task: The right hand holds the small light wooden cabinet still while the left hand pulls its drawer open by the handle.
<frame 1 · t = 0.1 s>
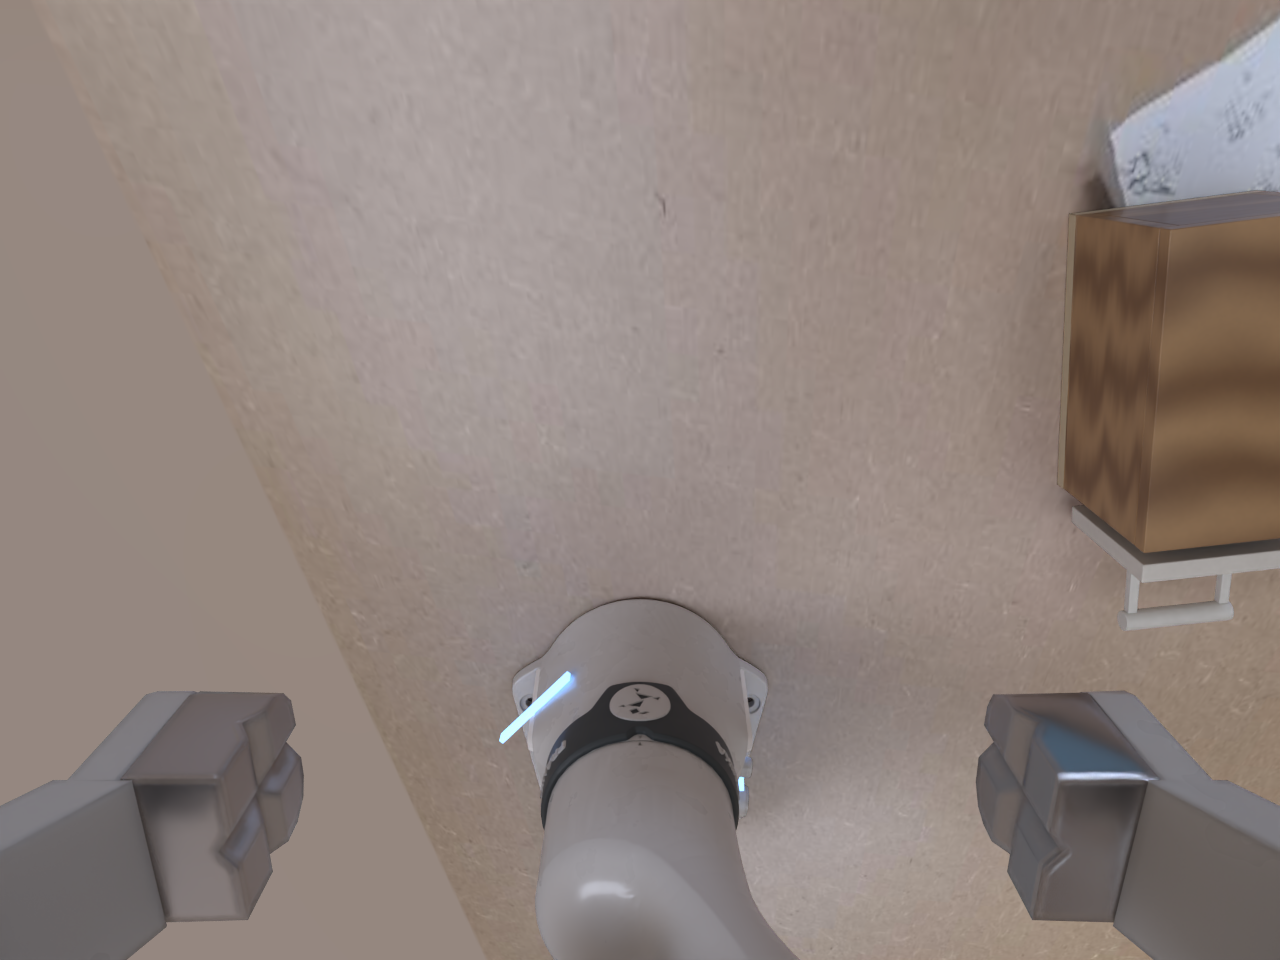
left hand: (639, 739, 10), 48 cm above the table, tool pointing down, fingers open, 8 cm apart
cabinet: (1150, 345, 57), on the table
drawer: (1192, 464, 54), point 6 cm above the table, slide at 1.3 cm
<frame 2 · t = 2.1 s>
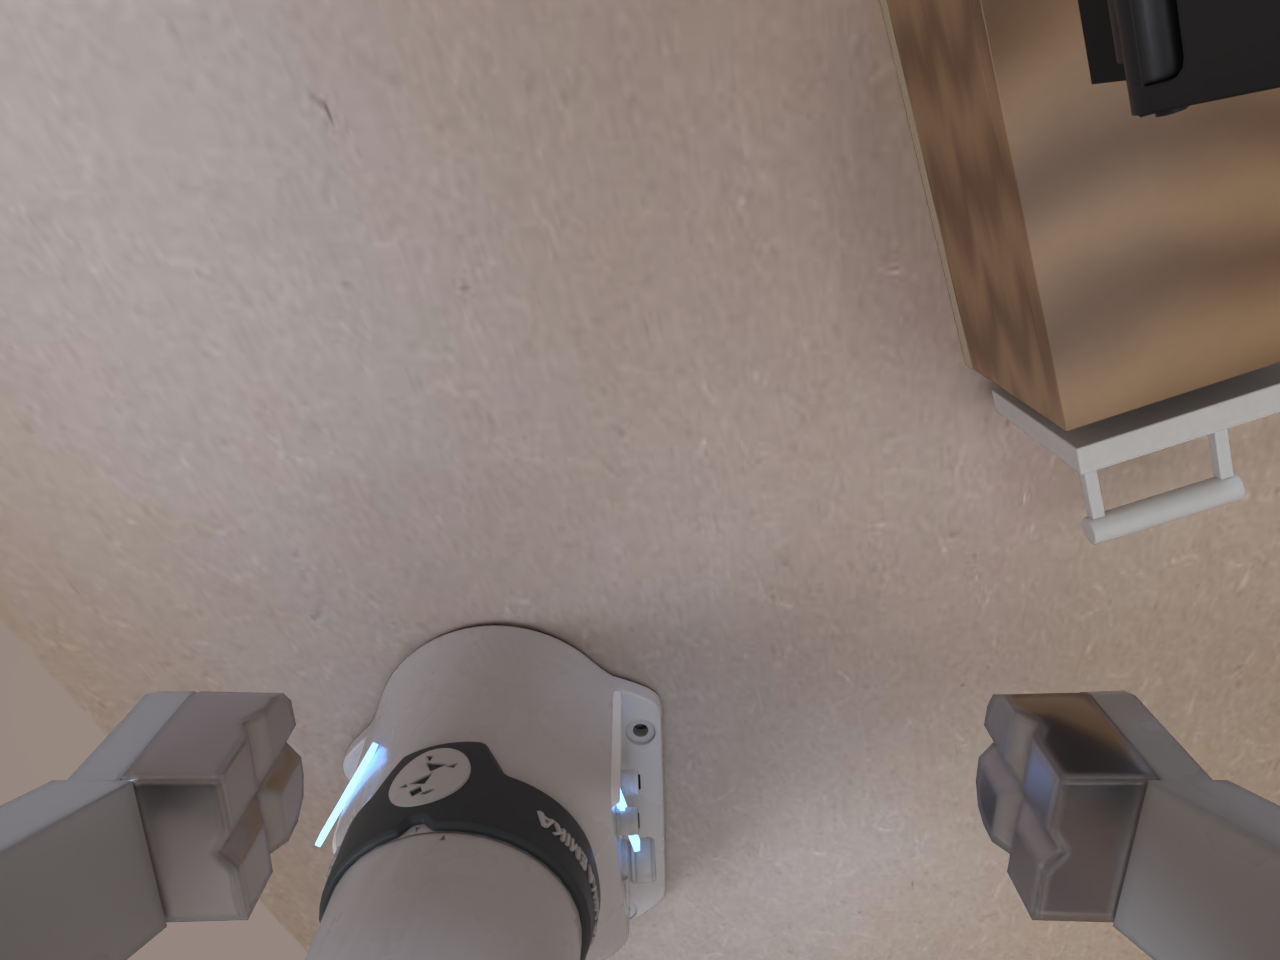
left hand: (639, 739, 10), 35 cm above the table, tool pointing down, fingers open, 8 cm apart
cabinet: (1044, 143, 41), on the table
drawer: (1128, 291, 37), point 6 cm above the table, slide at 1.3 cm
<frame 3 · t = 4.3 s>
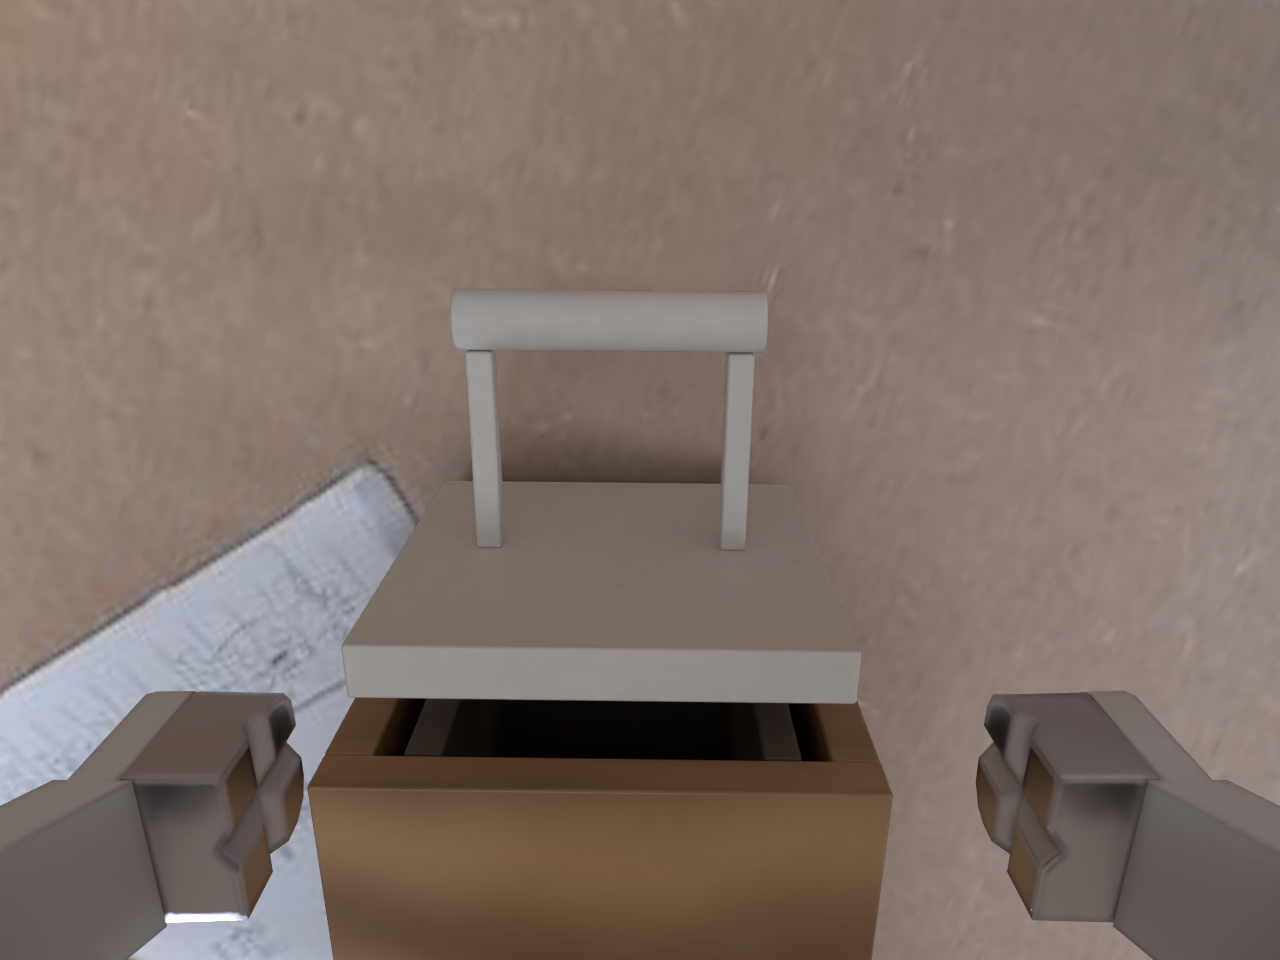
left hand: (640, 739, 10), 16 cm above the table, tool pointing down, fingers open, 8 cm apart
cabinet: (619, 783, 30), on the table, touching right hand
drawer: (611, 731, 23), point 6 cm above the table, slide at 1.3 cm
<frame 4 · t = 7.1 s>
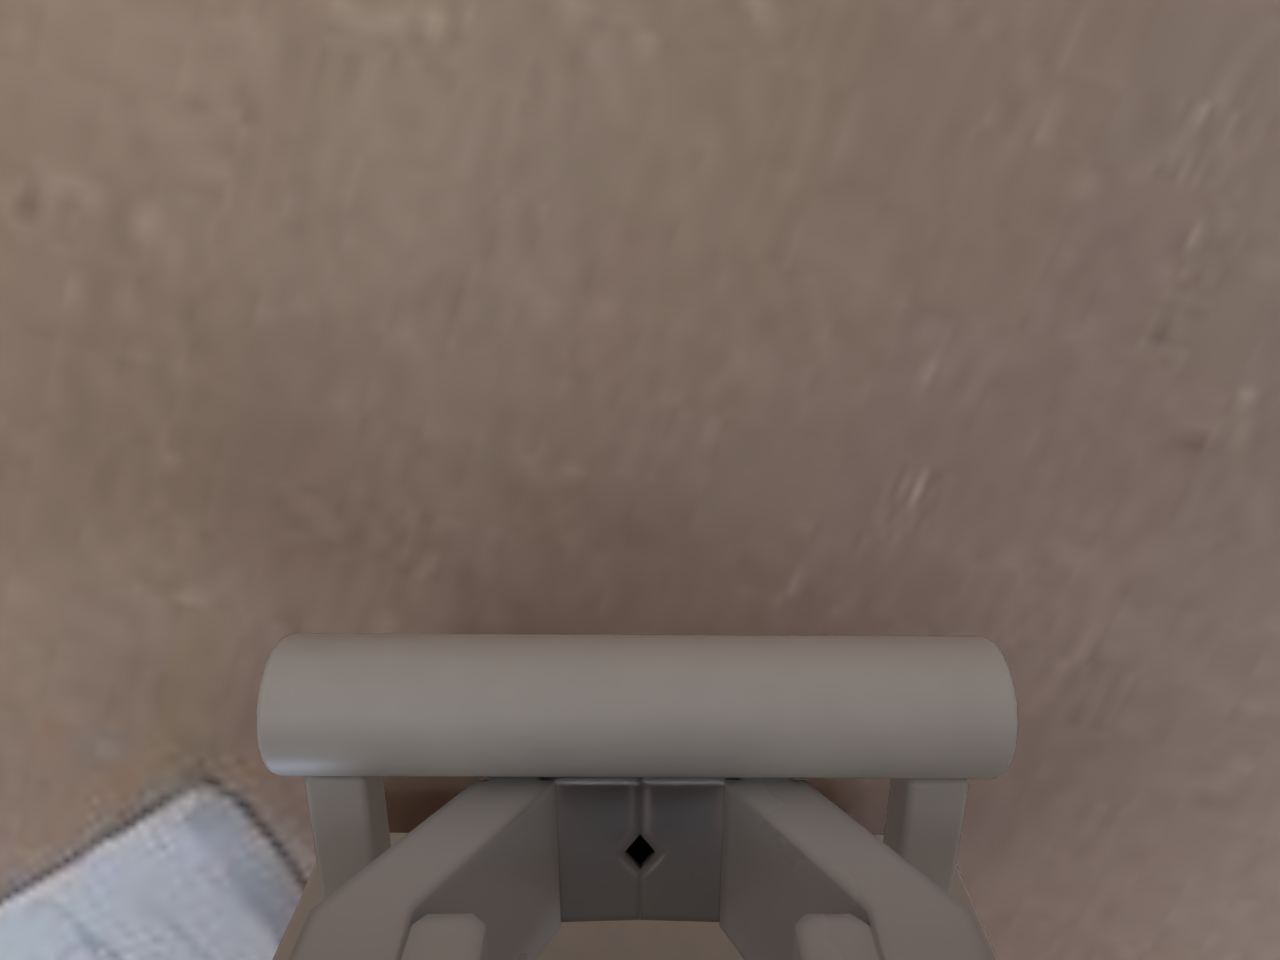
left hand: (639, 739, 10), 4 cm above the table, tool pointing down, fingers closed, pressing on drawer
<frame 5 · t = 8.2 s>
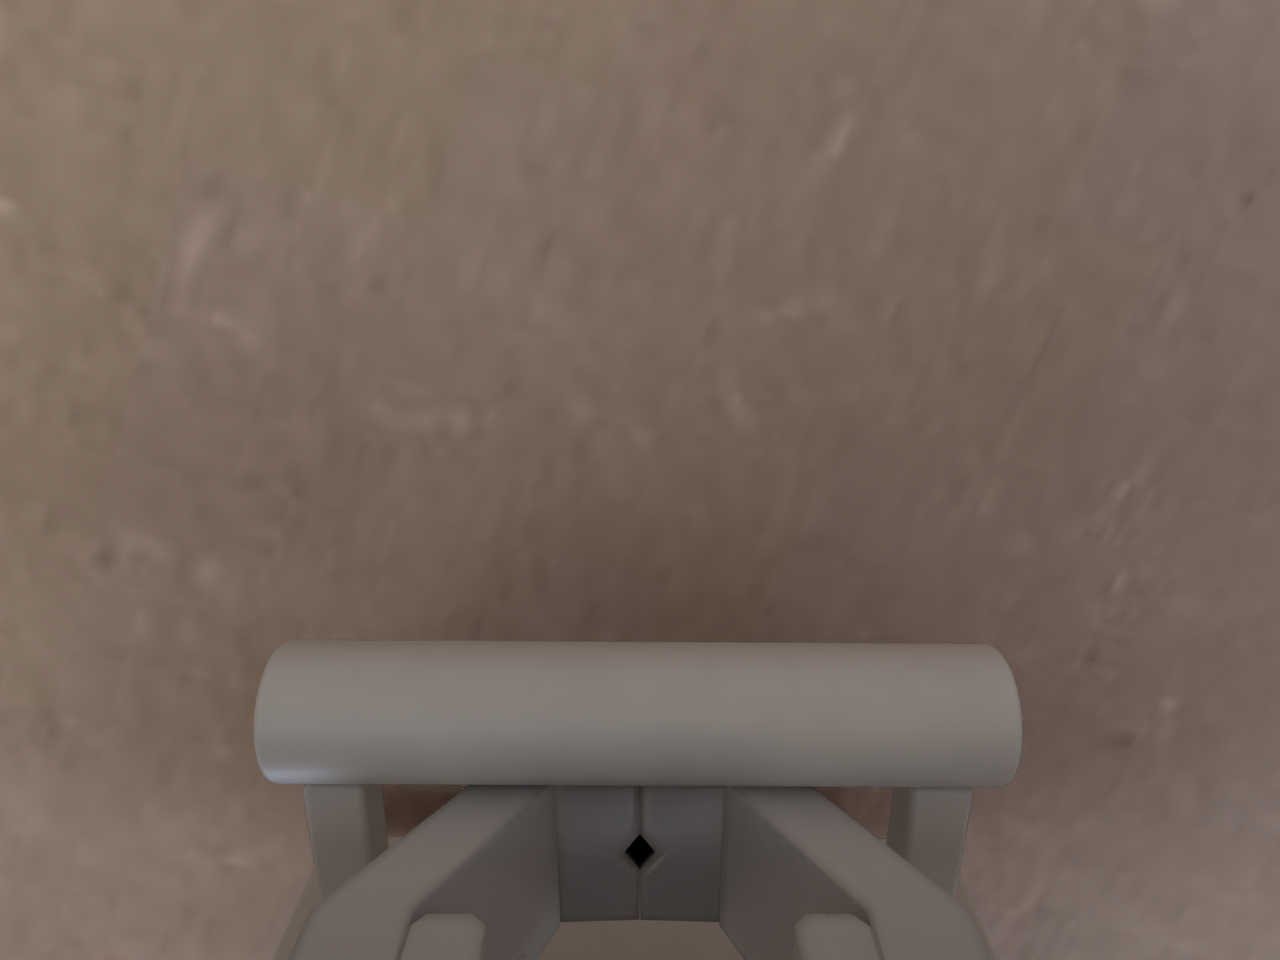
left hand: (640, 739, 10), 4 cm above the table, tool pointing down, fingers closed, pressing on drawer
when the right hand's fingers open (6 cm above the table, at t = 9.9 s): cabinet stays where it is, on the table.
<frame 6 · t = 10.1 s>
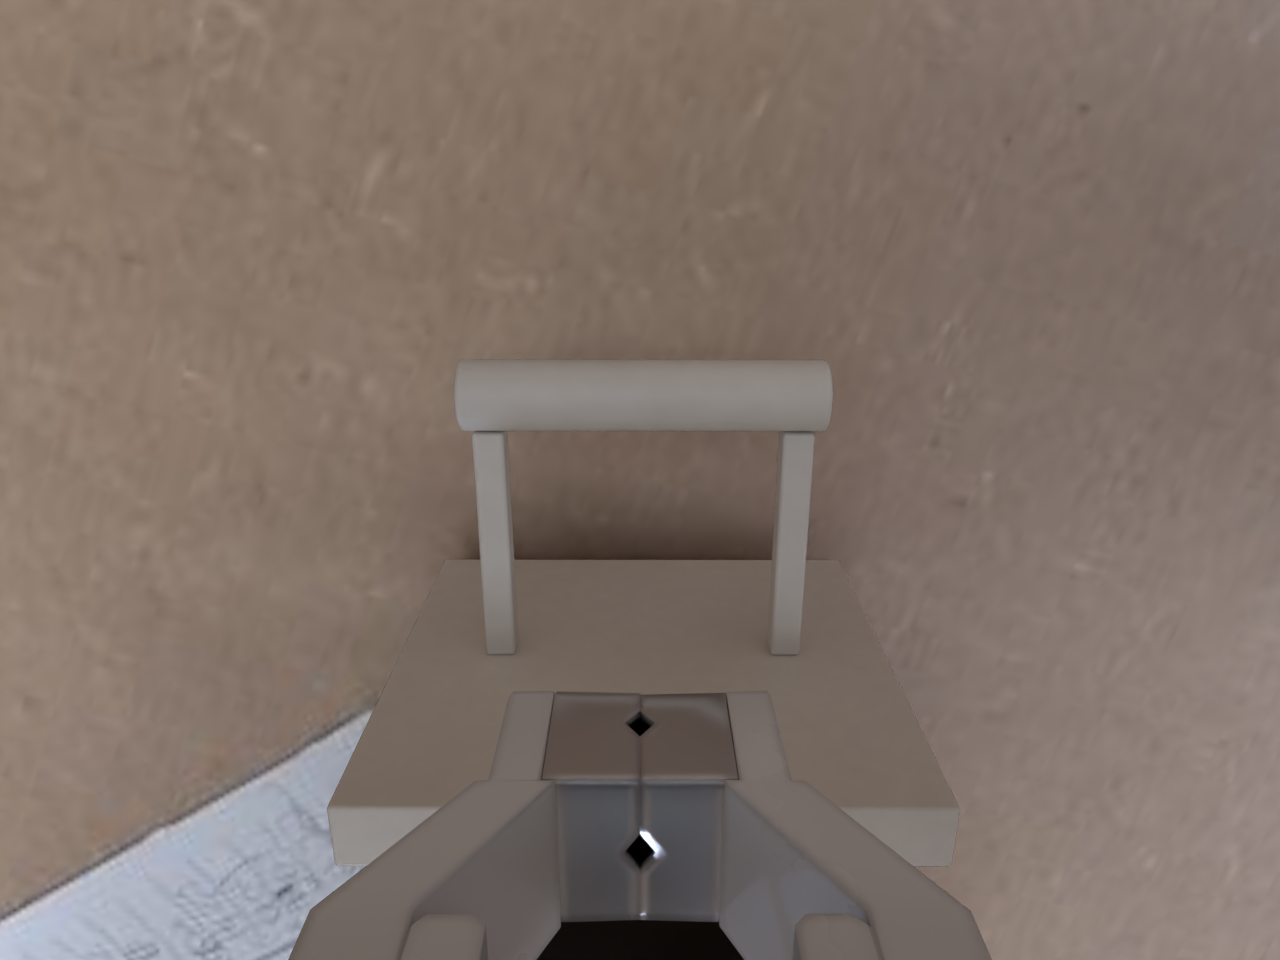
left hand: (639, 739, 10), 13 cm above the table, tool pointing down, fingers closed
drawer: (642, 855, 20), point 6 cm above the table, slide at 6.5 cm
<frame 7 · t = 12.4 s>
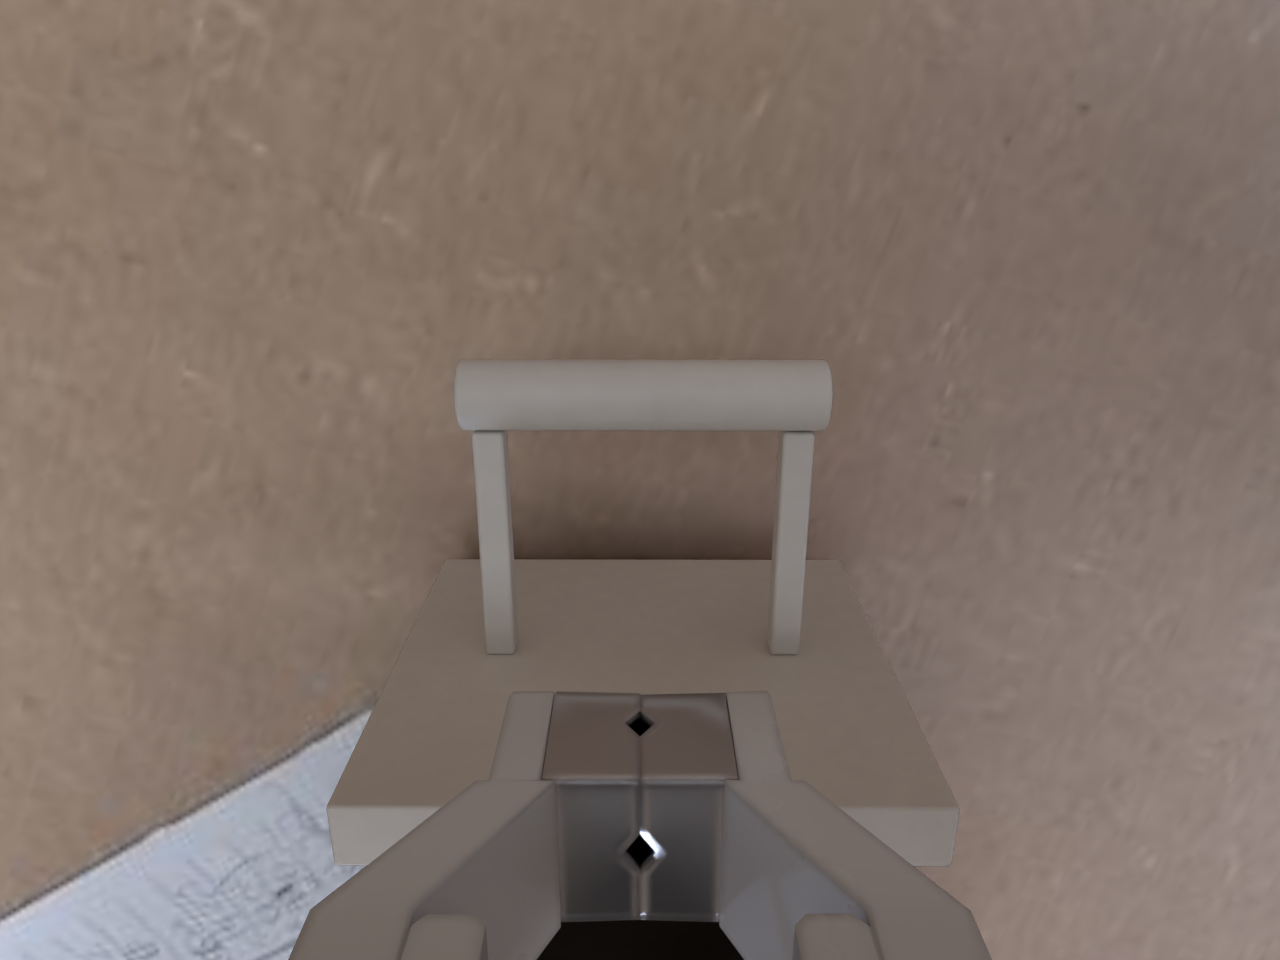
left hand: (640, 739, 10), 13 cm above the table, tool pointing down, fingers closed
drawer: (642, 855, 20), point 6 cm above the table, slide at 6.5 cm
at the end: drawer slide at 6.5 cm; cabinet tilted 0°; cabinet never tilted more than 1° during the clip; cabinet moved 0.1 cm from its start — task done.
